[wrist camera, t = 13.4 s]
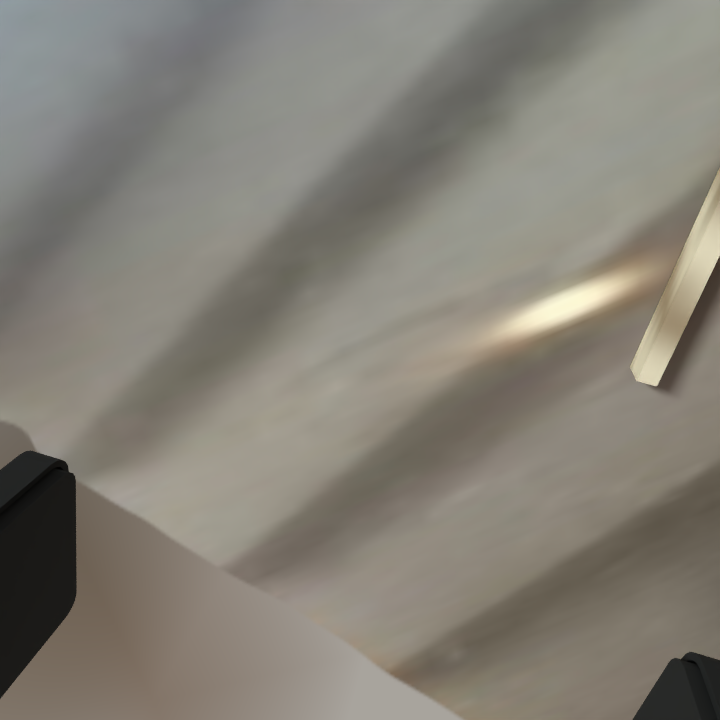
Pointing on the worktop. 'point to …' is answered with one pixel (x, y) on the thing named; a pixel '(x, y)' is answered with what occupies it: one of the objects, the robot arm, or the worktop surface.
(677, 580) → the worktop surface
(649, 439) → the worktop surface
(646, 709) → the robot arm
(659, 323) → the rail channel
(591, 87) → the worktop surface
